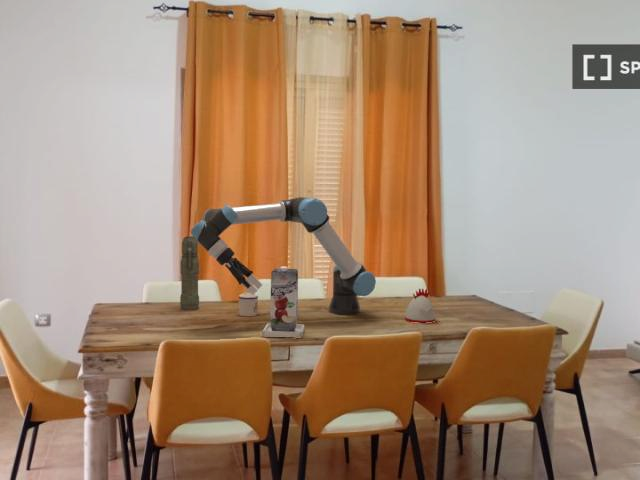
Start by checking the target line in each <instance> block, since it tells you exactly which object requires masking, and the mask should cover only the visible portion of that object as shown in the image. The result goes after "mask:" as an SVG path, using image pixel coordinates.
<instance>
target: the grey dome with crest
mask: <svg viewBox="0 0 640 480" xmlns="http://www.w3.org/2000/svg"><path fill="white" fill-rule="evenodd" d="M415 293H416V294H415ZM415 293H412V296H413V299H411V300H410V302H409V304H408V306H407V307H406V311H405V314H404V320H406V321H405V322H407V321H409V322H408V323H410V322H419V323H426V322H433V321H435V320H436V319H437V318H436V312H435V309H434V308H435V307H434V305H433V304H432V301H431V300H429V298H428V297H429V296H430V293H431V291H428V288H425V290H424V288H422V289H421V288H418V290H415ZM436 321H437V320H436Z"/></svg>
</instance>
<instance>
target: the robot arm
mask: <svg viewBox="0 0 640 480" xmlns="http://www.w3.org/2000/svg"><path fill="white" fill-rule="evenodd" d="M330 218H331V217H330V216H329V214H328V208H327V206H326V204H325V203H324V202H323V201H322V200H321V199H319V198H316V197H304V196H302V197H301V196H300V197H299V196H298V197H295V198H290V199H284V200H279V201H278V202H276V203H268V204H267V203H266V204H265V203H264V204H257V205H256V204H255V205H245V206H234V207H231V206H230V205H228V204H226V205H224V206H223V207H221V208H210V209H207V210H206V211H205V212H204V213H203V220H202V219H201V220H200V221H198V222H197V223H196V224H195V225H194V226H193V227H192V228H191V230H190V234H191V236H192V237H194V238H195V239H196V240H197V241H198V244H200V245H201V246H202V247H203V248H204V250H206V252H208V253H209V254H208V255H209V256H212V257H213V258H214V259H215V261H216V262H217V263H218V264H219V265H220V266H225V267H226V269H228V270H229V272H230V273H231V274H232V276H233V277H234V279H236V281H237V282H238V285H242V286H243V287H244V288H245V289H246V290H248V291H249V292H250V293H251V294H252V295H254V294H256V293H257V292H259V291H258V290H259V289H260V288H261V287H262V286H263V283H262V282H261V281H260V280H259V279H258V278H257V277H256V276H255V275H254V271H252V270H251V269H249V268H248V267H247V266H246V265H244V264H243V263H242V262H241V261H240V260H239V259H238V258H237V257H234V256H235V252H234V251H233V250H232V248H231V247H228V246H229V245H228V244H227V243H226V242H225V241H224V240H223V239H222V238H221V237H220V235H221V234H222V233H224V232H225V231H226V230H227V229H228V228H229V227H231V226H232V225H243V224H252V223H261V222H269V221H270V222H271V221H280V222H290V223H291V222H293V223H299V224H302V225H303V227H304V228H305V230H306V231H307V232H308V233H310V234H313V235H314V237H315V238H316V239H317V241H318V242H319V243H320V245H321V246H322V248H323V250H324V251H325V252H326V254H327V255H328V256H329V258H330V259H331V261H332V262H333V264H334V266H333V271H332V274H333V276H332V277H333V279H332V280H333V281H332V286H333V287H332V297H331V300H330V303H329V306H328V311H329V313H331V314H334V315H335V314H336V315H356V314H360V313H361V305H360V302H359V299H358V296H359V297H367V296H369V295H370V294H371V293H372V292H374V290H375V288H376V283H377V280H376V277H375V275H374V273H372V272H370V271H369V270H367V269H366V267H365V265H363V263H362V262H361V261H356V259H355V258H354V256H353V255H352V254H351V252H350V250H349V249H348V247H347V246H346V245H345V244H344V242H343V241H342V239H341V237H340V236H339V234H338V233H337V232H336V230H335V229H334V228H333V226H332V225H331V223H330ZM233 257H234V258H233Z"/></svg>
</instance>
